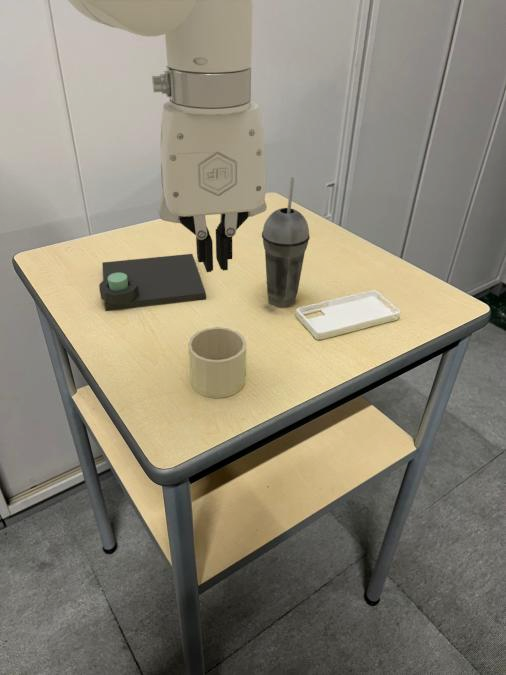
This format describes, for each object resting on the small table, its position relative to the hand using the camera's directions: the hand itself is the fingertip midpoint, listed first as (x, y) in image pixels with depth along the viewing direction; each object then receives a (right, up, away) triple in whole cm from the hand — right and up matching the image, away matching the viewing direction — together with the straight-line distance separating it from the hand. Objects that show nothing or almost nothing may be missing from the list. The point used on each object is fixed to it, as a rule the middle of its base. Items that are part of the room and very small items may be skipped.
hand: (214, 264), depth 58 cm
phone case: (+19, -5, +23) cm, 30 cm away
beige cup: (0, -14, +10) cm, 17 cm away
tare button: (-17, 0, +24) cm, 29 cm away
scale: (-13, +1, +30) cm, 32 cm away
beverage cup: (+9, -2, +26) cm, 28 cm away
